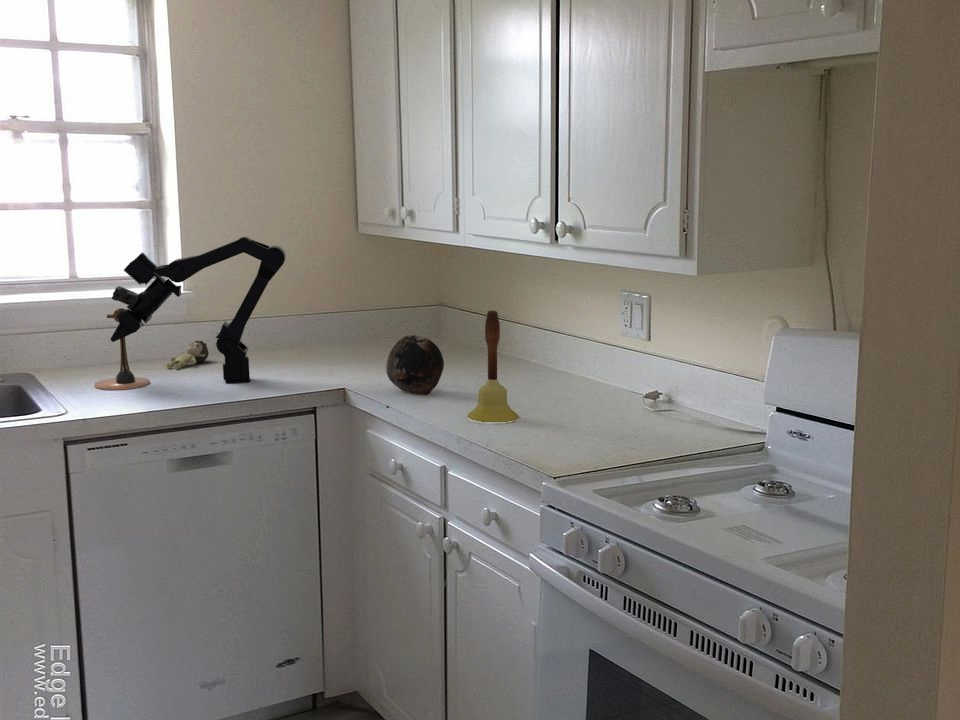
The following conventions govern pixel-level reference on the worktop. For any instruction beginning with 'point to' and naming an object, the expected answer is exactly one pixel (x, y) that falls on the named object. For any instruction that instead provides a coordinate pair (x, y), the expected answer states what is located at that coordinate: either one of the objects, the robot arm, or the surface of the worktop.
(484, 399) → the handbell
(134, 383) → the coaster
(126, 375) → the wooden tabletop sculpture
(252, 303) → the robot arm
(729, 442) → the worktop surface
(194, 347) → the figurine
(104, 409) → the worktop surface
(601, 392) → the worktop surface
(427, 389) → the decorative stone
